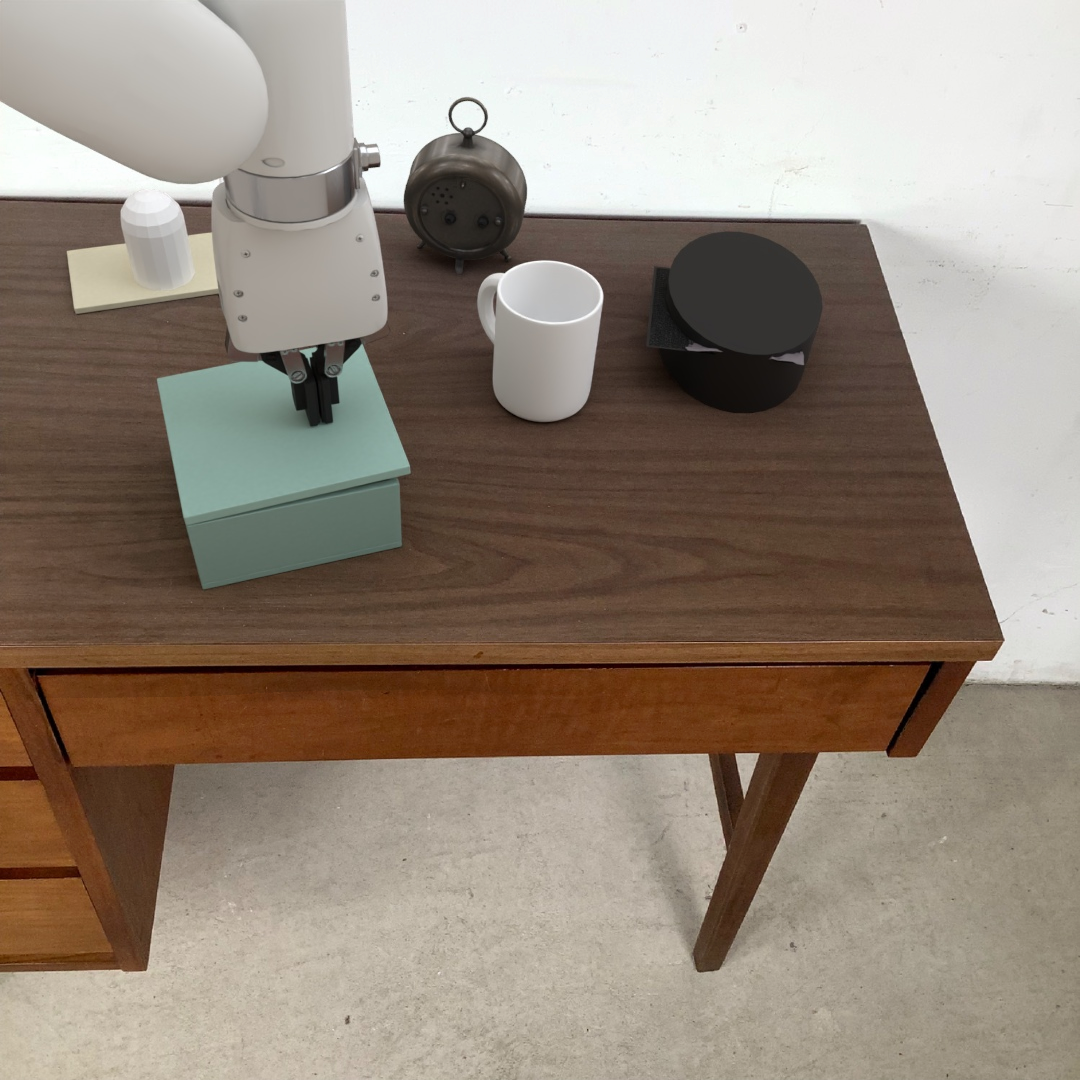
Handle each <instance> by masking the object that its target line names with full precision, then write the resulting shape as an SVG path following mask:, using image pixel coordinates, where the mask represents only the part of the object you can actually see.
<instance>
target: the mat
mask: <svg viewBox="0 0 1080 1080" xmlns="http://www.w3.org/2000/svg"><path fill="white" fill-rule="evenodd" d="M187 235H188V240H189V245H190V250H191V255H192V260H193V264H194V269H195V274H194V276H193V278H192V280H191V281H189V282H188V283H187V284H185V285H184V286H181V287H178V288H176V289H172V290H164V291H158V290H150V289H147V288H145V287H142V286H140V285H139V284H138V283H137V282H136V281H135V279H134V275H133V271H132V267H131V263H130V259H129V255H128V251H127V247H126V243H125V242H124V243H118V244H117V243H116V244H109V245H103V246H102V245H101V246H94V247H88V248H87V247H86V248H79V249H78V248H77V249H72V250H67V251H66V255H67V264H68V272H69V281H70V288H71V289H70V290H71V295H72V304H73V310H74V313H75V315H80V314H87V313H95V312H99V311H100V312H102V311H107V310H108V311H109V310H115V309H122V308H128V307H129V308H130V307H136V306H143V305H149V304H156V303H164V302H170V301H176V300H184V299H190V298H191V299H192V298H199V297H205V296H212V295H219V292H218V285H217V278H216V270H215V262H214V253H213V243H212V231H211V232H204V233H197V234H196V233H195V234H187Z"/></svg>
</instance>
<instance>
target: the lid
mask: <svg viewBox="0 0 1080 1080" xmlns="http://www.w3.org/2000/svg"><path fill="white" fill-rule="evenodd" d="M316 350H317V349H316V346H315V347H310V348H305V349H299V351H300V352H301V353H303V354H305V356H306V358H308V361H309V364H310V357H312V352H315V351H316ZM310 367H311V366H310ZM337 379H338V390H339V401H340V403H339V404H334V405H332V415H333V423H327V424H326V423H325V422H322V420H321V417H320V423H318V425H317V426H311V427H310V424H309V421H308V418H307V414H306V411H305V410H300V411H296V408H295V405H294V401H293V396H292V389H291V382H290V380H289V377H288V376H287V375H286V374H284V373H282V372H280V371H278V370H276V369H275V368H273V367H271V366H269V365H267V364H265V363H264V362H263V361H258V362H234V363H227V364H223V365H218V366H213V367H208V368H202V369H198V370H194V371H187V372H183V373H177V374H173V375H167V376H163V377H158V378H156V383H157V388H158V393H159V398H160V404H161V409H162V413H163V419H164V420H163V421H164V425H165V430H166V433H167V434H166V435H167V440H168V445H169V450H170V456H171V460H172V466H173V470H174V476H175V481H176V482H175V483H176V486H177V491H178V496H179V502H180V508H181V512H182V517H183V521H184V524H185V526H186V525H191V524H195V523H200V522H204V521H208V520H213V519H217V518H221V517H225V516H230V515H234V514H238V513H243V512H247V511H251V510H256V509H260V508H264V507H269V506H273V505H277V504H282V503H286V502H290V501H295V500H299V499H303V498H308V497H312V496H316V495H321V494H325V493H329V492H334V491H338V490H342V489H347V488H351V487H355V486H360V485H364V484H368V483H372V482H377V481H381V480H385V479H390V478H394V477H397V478H398V477H403V476H407V475H410V474H412V473H411V465H410V462H409V460H408V457H407V455H406V452H405V450H404V447H403V444H402V442H401V440H400V436H399V434H398V431H397V430H396V426H395V424H394V421H393V418H392V416H391V414H390V411H389V409H388V406H387V403H386V400H385V399H384V396H383V393H382V391H381V388H380V385H379V383H378V380H377V378H376V375H375V372H374V370H373V367H372V365H371V362H370V359H369V357H368V354H367V352H366V349H365V347H364V344H361V346H360V347H359V349H358V350H357V351H356V352H355V353H354V354H353V355H352V356H351V357H350V358H349V359H348V360H347V361H346V362H345V363H344V364H343V369H342V373H341V374H340V375H339V376H337ZM319 415H320V413H319Z"/></svg>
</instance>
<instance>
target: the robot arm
mask: <svg viewBox="0 0 1080 1080" xmlns="http://www.w3.org/2000/svg"><path fill="white" fill-rule="evenodd" d="M347 22H348V21H347V6H346V0H0V103H3V104H4V105H5V106H8V107H9V108H11V109H13V110H14V111H16V112H17V113H20V114H22V115H24V116H26V117H27V118H29V119H31V120H33V121H34V122H36V123H38V124H40V125H42V126H44V127H46V128H48V129H50V130H51V131H53V132H56V133H57V134H59V135H61V136H63V137H65V138H67V139H69V140H71V141H73V142H75V143H78V144H80V145H81V146H84V147H86V148H87V149H89V150H91V151H94V152H95V153H98V154H100V155H102V156H104V157H106V158H108V159H110V160H112V161H114V162H116V163H118V164H120V165H121V166H124V167H126V168H129V169H130V170H132V171H134V172H136V173H139V174H141V175H143V176H146V177H148V178H151V179H154V180H158V181H161V182H165V183H171V184H175V185H198V184H204V183H210V182H213V181H216V180H219V179H222V180H223V182H221V183H218V185H216V187H215V188H214V189H213V191H212V197H211V198H212V199H211V209H210V210H211V214H210V216H211V232H212V243H213V253H214V262H215V270H216V278H217V285H218V292H219V294H218V297H219V302H220V307H221V308H220V309H221V311H222V315H223V316H224V319H225V322H226V330H225V339H224V347H225V352H226V355H227V359H228V360H229V361H231V362H234V363H238V362H258V361H263V362H264V363H265V364H267V365H269V366H271V367H273V368H275V369H276V370H278V371H280V372H282V373H284V374H286V375H287V376H288V377H289V380H290V382H291V389H292V396H293V401H294V405H295V408H296V411H300V410H305V411H306V414H307V418H308V421H309V424H310V427H311V426H317V425H318V423H320V417H321V420H322V422H325V423H326V424H327V423H333V415H332V405H334V404H339V403H340V401H339V390H338V379H337V376H339V375H340V374H341V373H342V369H343V364H344V363H345V362H346V361H347V360H348V359H349V358H350V357H351V356H352V355H353V354H354V353H355V352H356V351H357V350H358V349H359V347H360V346H361V344H363V345H368V344H371V343H374V342H375V341H378V340H381V339H385V338H387V337H388V336H390V334H391V327H390V324H389V321H388V311H389V310H388V296H387V295H388V293H387V284H386V278H385V270H384V262H383V261H384V260H383V255H382V248H381V242H380V237H379V232H378V226H377V221H376V216H375V212H374V209H373V204H372V200H371V196H370V192H369V188H368V186H367V183H366V181H365V178H364V177H363V172H369V170H370V169H376V168H380V167H381V153H380V149H379V145H378V143H370V144H365V142H358V139H357V138H356V137H355V133H354V131H355V130H354V117H353V115H354V114H353V101H352V100H353V99H352V87H351V85H352V84H351V70H350V69H351V68H350V67H351V66H350V53H349V38H348V36H349V35H348V23H347ZM311 346H315V347H316V349H317V350H316V351H315V352H312V357H310V364H309V361H308V358H306V356H305V354H303V353H301V352H300V351H299V350H300V348H305V347H311ZM310 366H311V367H310ZM319 413H320V415H319Z"/></svg>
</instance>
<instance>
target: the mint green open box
mask: <svg viewBox="0 0 1080 1080" xmlns="http://www.w3.org/2000/svg"><path fill="white" fill-rule="evenodd" d="M400 485H401V483H400V481H399V479H398V477H394V478H390V479H385V480H381V481H377V482H372V483H368V484H364V485H360V486H355V487H351V488H347V489H342V490H338V491H334V492H329V493H325V494H321V495H316V496H312V497H308V498H303V499H299V500H295V501H290V502H286V503H282V504H277V505H273V506H269V507H264V508H260V509H256V510H251V511H247V512H243V513H238V514H234V515H230V516H225V517H221V518H217V519H213V520H208V521H204V522H200V523H195V524H191V525H186V524H185V529H186V532H187V537H188V539H189V544H190V547H191V550H192V555H193V558H194V562H195V566H196V570H197V573H198V577H199V581H200V584H201V588H202V590H208V589H214V588H218V587H222V586H226V585H232V584H236V583H240V582H245V581H250V580H255V579H259V578H264V577H268V576H272V575H278V574H281V573H286V572H291V571H296V570H300V569H305V568H309V567H314V566H318V565H323V564H327V563H332V562H336V561H340V560H346V559H351V558H356V557H361V556H364V555H370V554H374V553H378V552H383V551H387V550H393V549H397V548H402V546H403V541H402V540H403V539H402V515H401V512H402V511H401V486H400Z"/></svg>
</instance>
